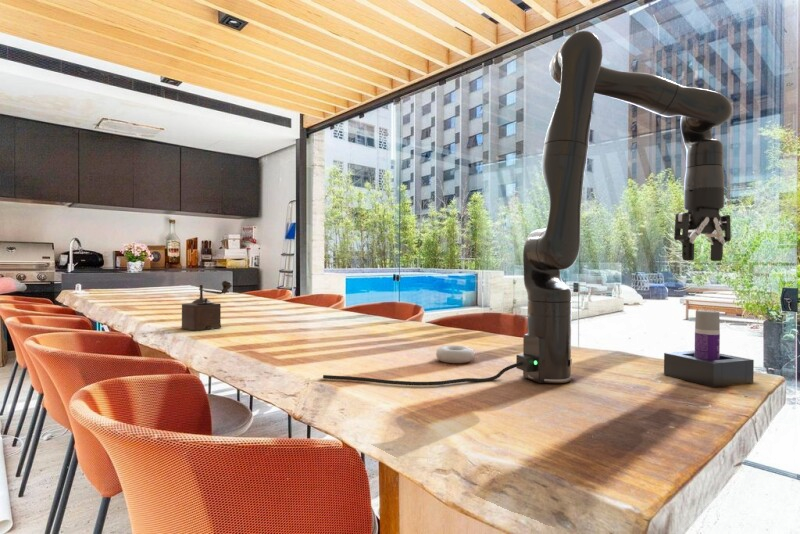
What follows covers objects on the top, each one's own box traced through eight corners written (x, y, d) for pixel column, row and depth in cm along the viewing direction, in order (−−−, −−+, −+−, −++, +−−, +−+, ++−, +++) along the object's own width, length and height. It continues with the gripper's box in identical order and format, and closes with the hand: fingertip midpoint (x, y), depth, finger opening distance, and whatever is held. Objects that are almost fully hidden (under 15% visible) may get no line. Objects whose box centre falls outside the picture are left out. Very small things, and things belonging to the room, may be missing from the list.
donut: (464, 367, 117) (480, 359, 126) (464, 353, 117) (480, 346, 126) (429, 362, 123) (446, 355, 131) (428, 348, 123) (446, 342, 131)
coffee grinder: (196, 331, 173) (196, 281, 173) (180, 328, 179) (180, 280, 179) (234, 326, 185) (234, 280, 185) (218, 324, 192) (218, 279, 192)
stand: (713, 387, 99) (713, 363, 99) (663, 374, 110) (663, 352, 110) (753, 382, 103) (753, 359, 103) (701, 370, 114) (701, 349, 114)
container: (723, 381, 104) (724, 312, 104) (699, 380, 105) (700, 312, 105) (713, 376, 108) (714, 310, 108) (690, 375, 109) (691, 310, 109)
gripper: (711, 192, 113) (709, 261, 113) (665, 188, 108) (663, 260, 108) (743, 187, 106) (741, 261, 106) (695, 183, 101) (694, 260, 101)
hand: (702, 260), depth 107 cm, fingers open, 8 cm apart
